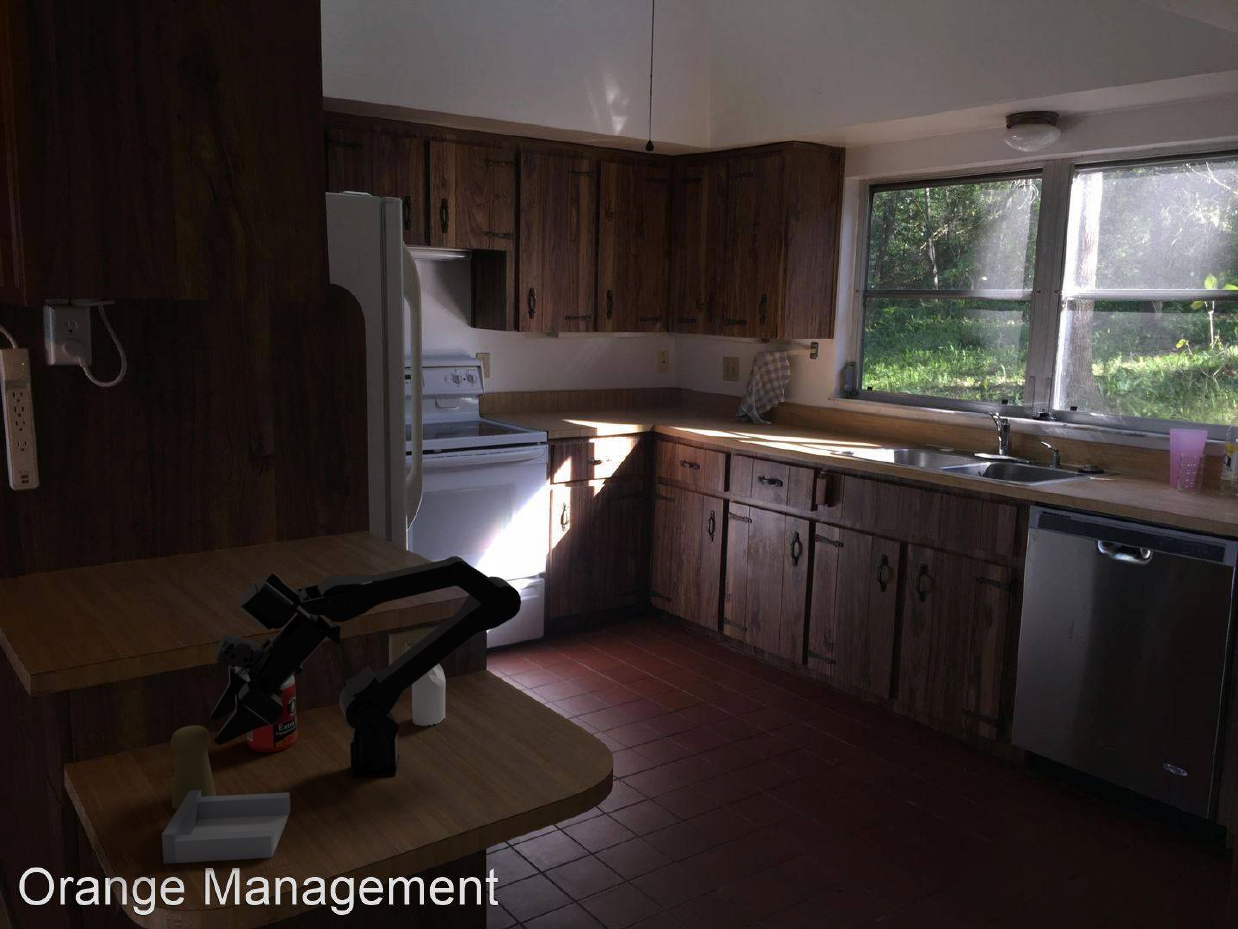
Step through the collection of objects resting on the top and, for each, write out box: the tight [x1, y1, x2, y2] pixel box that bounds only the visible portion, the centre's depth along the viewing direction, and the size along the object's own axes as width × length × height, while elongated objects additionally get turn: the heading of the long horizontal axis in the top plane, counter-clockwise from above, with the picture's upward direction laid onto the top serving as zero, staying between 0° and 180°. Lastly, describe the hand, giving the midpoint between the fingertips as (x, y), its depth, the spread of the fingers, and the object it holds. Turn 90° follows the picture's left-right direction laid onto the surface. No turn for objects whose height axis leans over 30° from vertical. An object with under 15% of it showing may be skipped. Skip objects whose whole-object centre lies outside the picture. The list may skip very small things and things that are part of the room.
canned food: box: [246, 674, 298, 753], centre depth 165 cm, size 8×8×11 cm
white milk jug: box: [411, 663, 447, 727], centre depth 175 cm, size 6×12×6 cm
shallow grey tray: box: [161, 790, 291, 865], centre depth 136 cm, size 14×12×4 cm
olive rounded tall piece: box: [170, 724, 217, 811], centre depth 146 cm, size 6×6×11 cm
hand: (214, 730), depth 146 cm, fingers open, 9 cm apart
